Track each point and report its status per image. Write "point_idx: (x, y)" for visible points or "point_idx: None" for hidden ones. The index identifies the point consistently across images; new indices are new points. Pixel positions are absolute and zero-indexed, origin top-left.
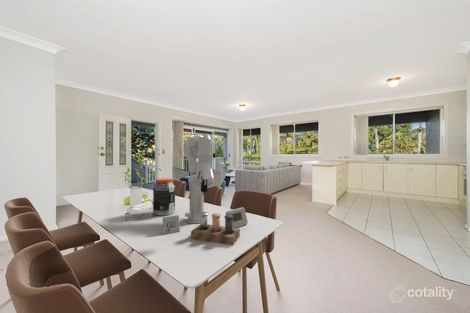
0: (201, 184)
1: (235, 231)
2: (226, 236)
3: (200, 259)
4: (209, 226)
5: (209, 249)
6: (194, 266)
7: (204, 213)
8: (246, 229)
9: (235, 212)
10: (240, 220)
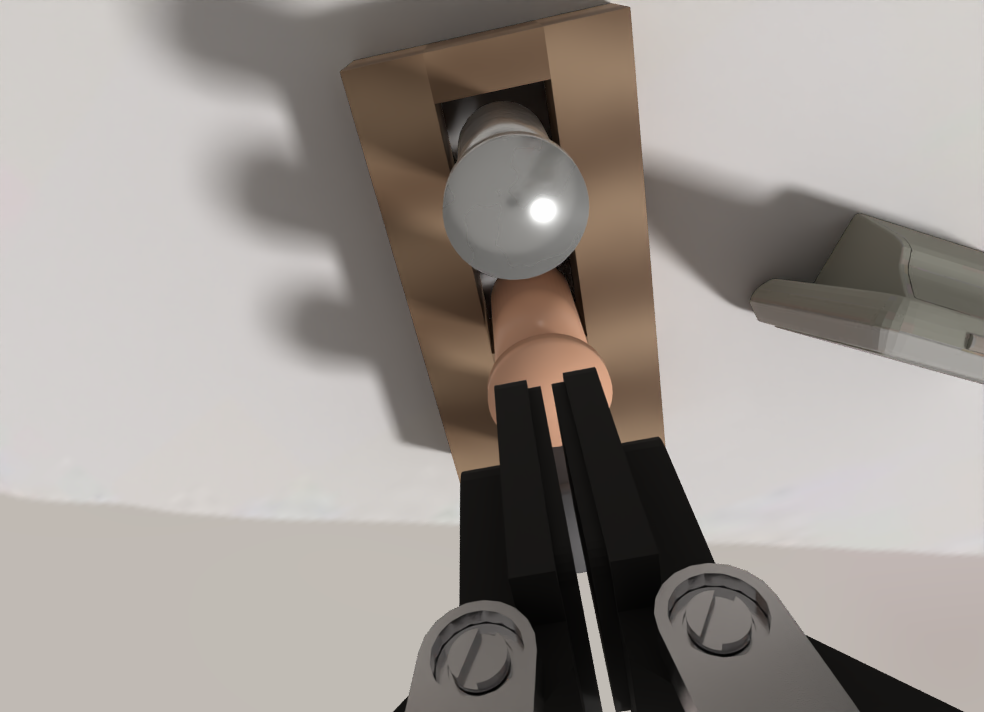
0: (436, 663)
1: None
2: (454, 451)
3: (155, 383)
4: (588, 178)
5: (305, 353)
6: (70, 401)
7: (509, 230)
8: (816, 409)
9: (963, 377)
10: (919, 366)
